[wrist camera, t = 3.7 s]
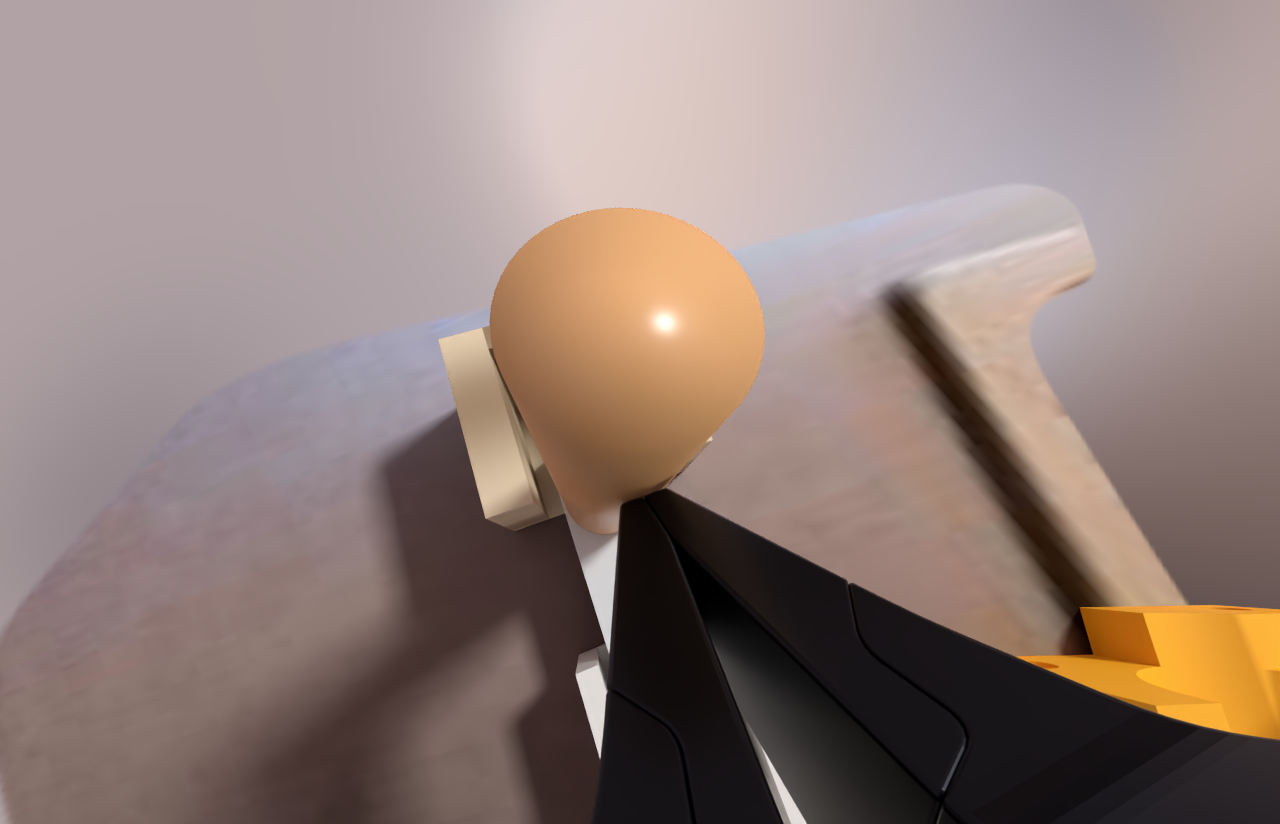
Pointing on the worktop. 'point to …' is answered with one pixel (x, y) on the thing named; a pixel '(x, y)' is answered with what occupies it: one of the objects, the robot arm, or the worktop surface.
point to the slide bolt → (622, 361)
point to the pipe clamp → (1184, 663)
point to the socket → (500, 436)
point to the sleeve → (594, 697)
